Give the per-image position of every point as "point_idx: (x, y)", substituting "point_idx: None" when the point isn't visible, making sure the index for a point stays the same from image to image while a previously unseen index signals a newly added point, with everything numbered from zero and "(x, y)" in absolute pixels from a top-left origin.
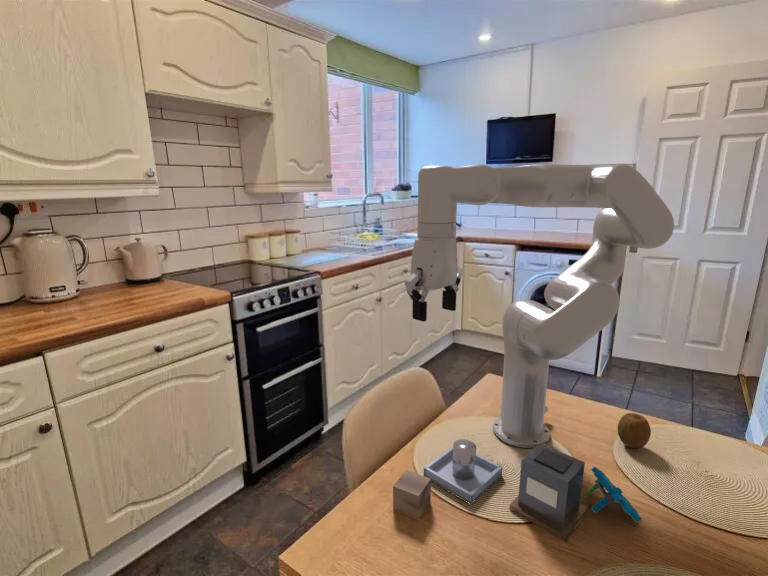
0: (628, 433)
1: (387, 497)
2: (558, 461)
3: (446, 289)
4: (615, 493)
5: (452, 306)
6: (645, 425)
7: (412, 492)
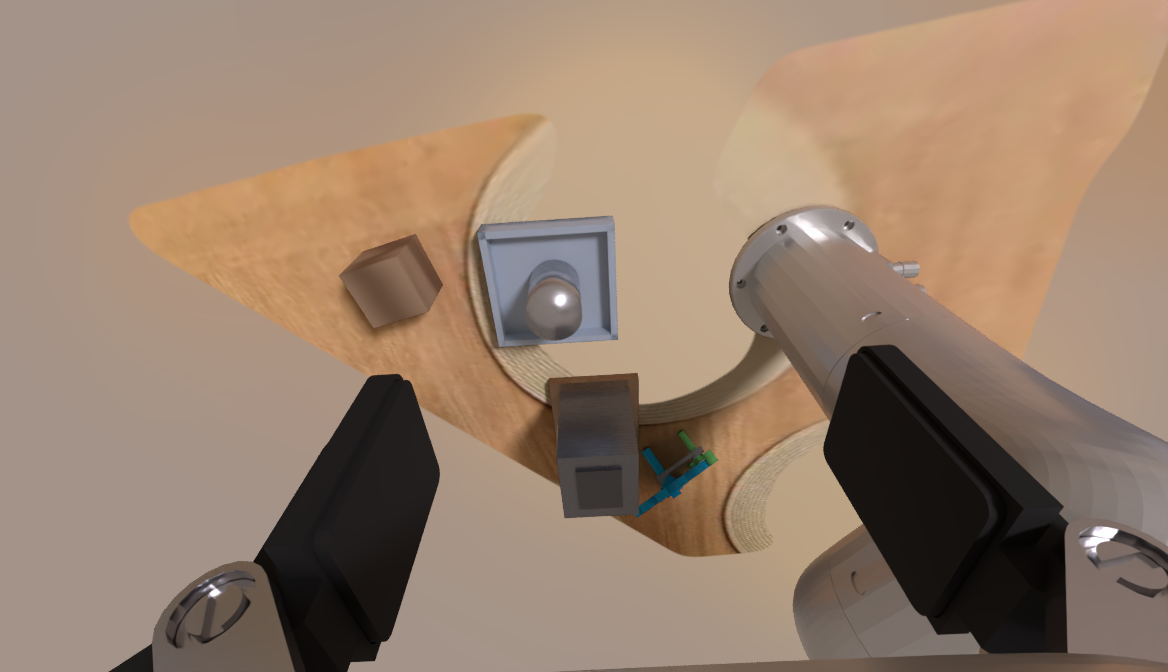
0: None
1: (369, 218)
2: (602, 496)
3: (1015, 584)
4: (639, 515)
5: (843, 477)
6: None
7: (367, 314)
